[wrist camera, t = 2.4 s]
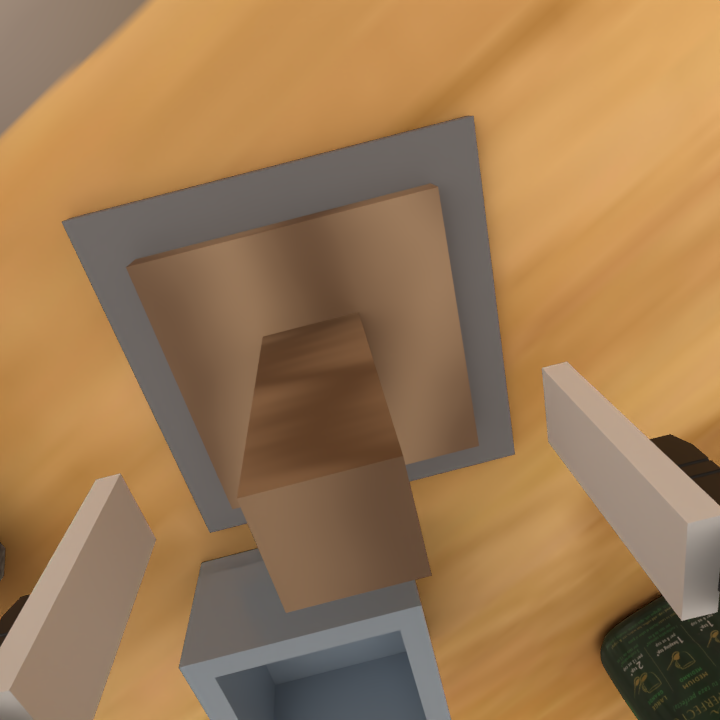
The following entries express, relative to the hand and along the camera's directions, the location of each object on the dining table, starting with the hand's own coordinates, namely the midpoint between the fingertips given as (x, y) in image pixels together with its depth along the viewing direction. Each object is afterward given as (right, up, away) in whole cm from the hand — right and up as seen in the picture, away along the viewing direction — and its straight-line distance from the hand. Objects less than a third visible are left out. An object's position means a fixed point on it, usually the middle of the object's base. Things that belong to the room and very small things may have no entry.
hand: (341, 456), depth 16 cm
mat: (-1, +4, +8) cm, 9 cm away
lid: (-1, +3, +7) cm, 8 cm away
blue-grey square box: (-1, -11, +15) cm, 19 cm away
